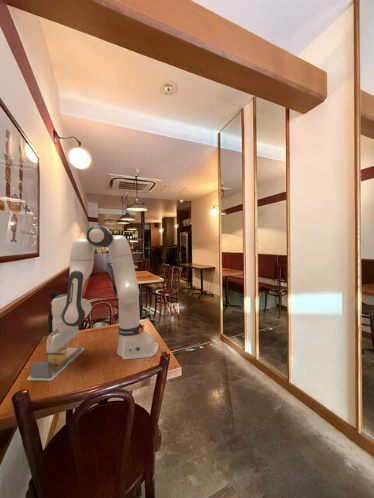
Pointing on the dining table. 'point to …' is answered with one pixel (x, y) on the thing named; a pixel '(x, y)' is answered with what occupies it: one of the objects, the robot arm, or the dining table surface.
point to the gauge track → (52, 366)
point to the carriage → (57, 356)
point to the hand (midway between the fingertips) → (63, 352)
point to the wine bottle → (50, 317)
